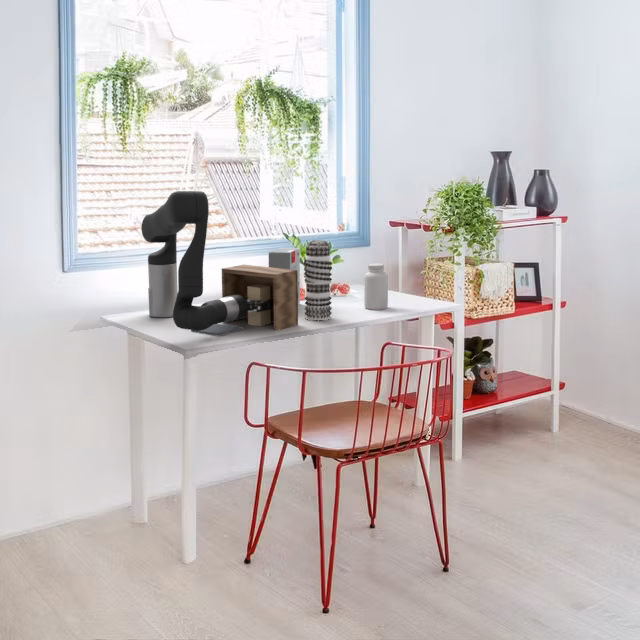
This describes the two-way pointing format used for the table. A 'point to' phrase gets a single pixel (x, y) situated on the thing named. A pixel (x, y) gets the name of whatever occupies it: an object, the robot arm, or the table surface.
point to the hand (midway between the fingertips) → (263, 300)
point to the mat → (219, 329)
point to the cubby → (280, 289)
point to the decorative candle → (317, 280)
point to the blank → (256, 293)
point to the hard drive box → (286, 261)
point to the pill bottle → (376, 287)
